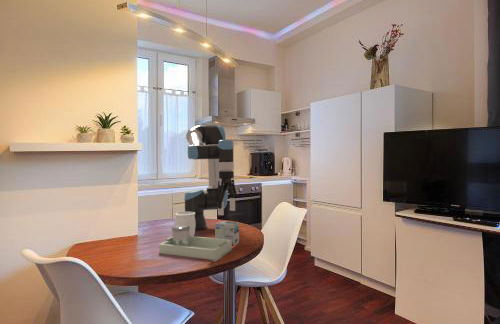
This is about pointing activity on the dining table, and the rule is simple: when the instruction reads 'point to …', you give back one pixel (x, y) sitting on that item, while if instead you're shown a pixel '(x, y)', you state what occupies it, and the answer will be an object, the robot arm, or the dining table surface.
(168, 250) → the tray
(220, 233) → the light bulb box
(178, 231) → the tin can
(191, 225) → the jar
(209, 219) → the dining table surface
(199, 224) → the robot arm
